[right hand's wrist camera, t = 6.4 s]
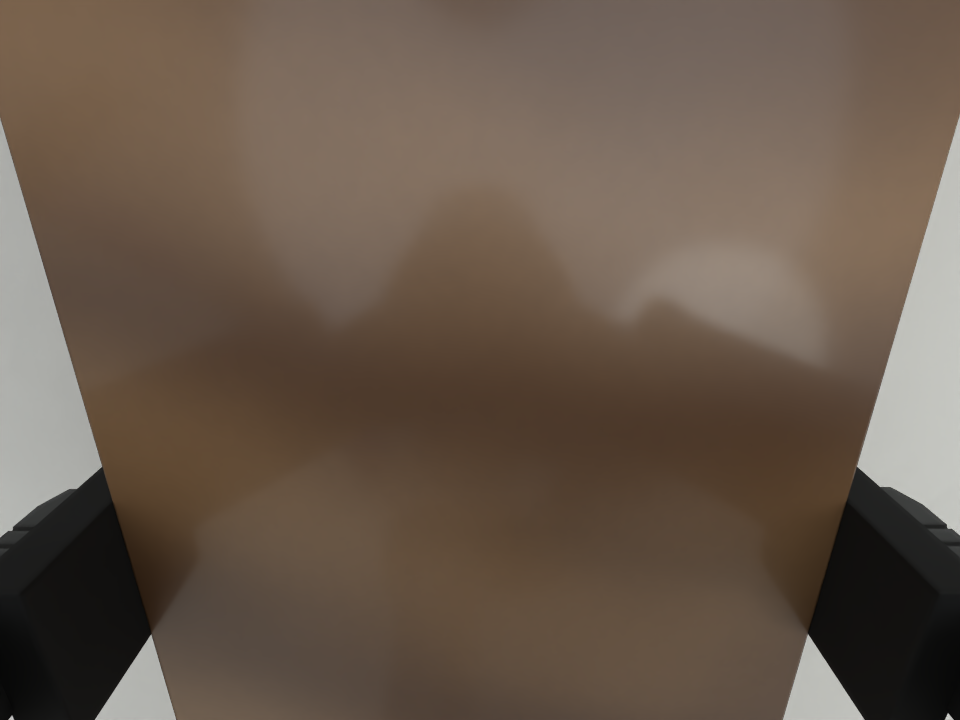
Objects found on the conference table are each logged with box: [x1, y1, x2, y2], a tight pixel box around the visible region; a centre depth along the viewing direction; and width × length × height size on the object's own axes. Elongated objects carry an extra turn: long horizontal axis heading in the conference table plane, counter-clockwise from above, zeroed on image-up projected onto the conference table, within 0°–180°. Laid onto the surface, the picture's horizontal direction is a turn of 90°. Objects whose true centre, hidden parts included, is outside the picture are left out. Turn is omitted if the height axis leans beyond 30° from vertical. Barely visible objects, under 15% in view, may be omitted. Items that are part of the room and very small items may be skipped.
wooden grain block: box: [0, 0, 960, 720], centre depth 12 cm, size 15×11×9 cm
